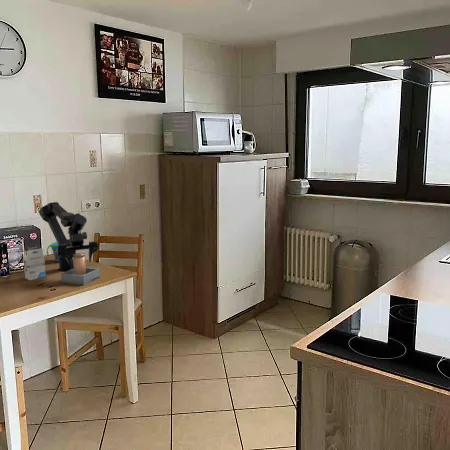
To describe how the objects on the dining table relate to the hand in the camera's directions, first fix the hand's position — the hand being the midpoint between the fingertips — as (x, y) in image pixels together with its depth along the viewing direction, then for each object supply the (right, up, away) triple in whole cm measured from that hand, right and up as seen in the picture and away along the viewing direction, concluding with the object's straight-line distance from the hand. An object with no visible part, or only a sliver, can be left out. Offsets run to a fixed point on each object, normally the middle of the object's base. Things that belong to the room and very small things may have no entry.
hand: (80, 263), depth 216 cm
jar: (-1, -7, +3) cm, 8 cm away
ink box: (-25, -8, +8) cm, 27 cm away
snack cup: (-23, -2, +40) cm, 46 cm away
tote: (-1, -8, +3) cm, 9 cm away
